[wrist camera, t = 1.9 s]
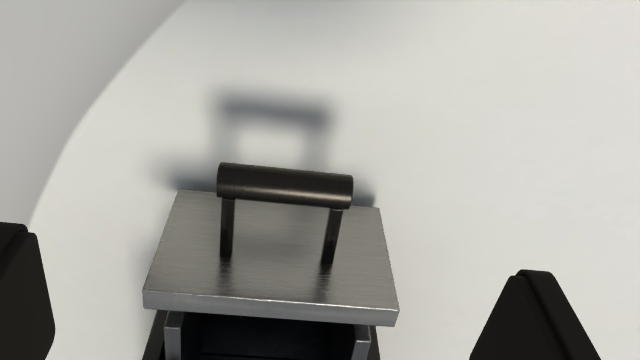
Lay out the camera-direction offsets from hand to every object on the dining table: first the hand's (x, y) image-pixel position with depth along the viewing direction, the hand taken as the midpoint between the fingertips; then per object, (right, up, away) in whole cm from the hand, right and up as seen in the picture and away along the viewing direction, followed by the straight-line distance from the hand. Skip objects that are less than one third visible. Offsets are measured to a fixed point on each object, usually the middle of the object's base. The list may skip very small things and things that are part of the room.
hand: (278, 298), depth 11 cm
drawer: (-2, -2, +22) cm, 22 cm away
